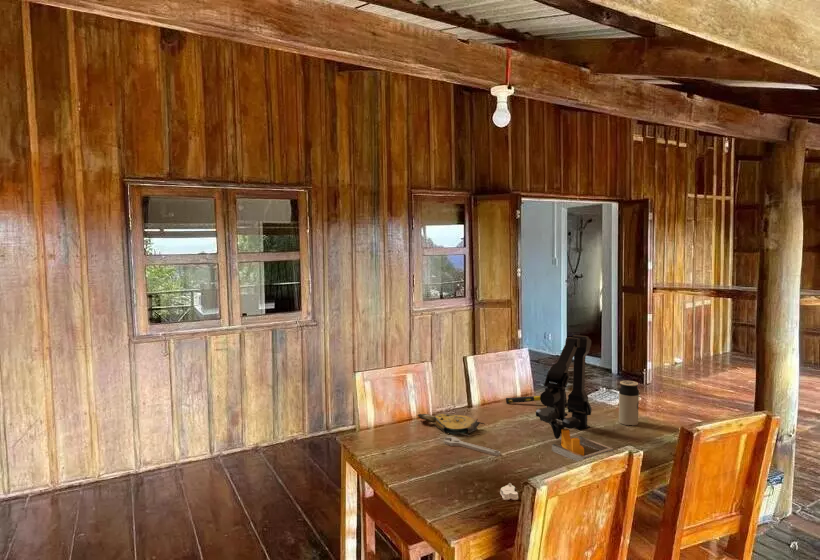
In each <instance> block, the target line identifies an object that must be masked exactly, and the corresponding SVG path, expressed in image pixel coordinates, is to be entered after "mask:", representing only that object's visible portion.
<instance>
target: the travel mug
mask: <svg viewBox="0 0 820 560" xmlns="http://www.w3.org/2000/svg"><path fill="white" fill-rule="evenodd" d="M619 384H620V387H619V390H618V423H620V424H621V425H626V426H629V425H632V426H637V425H638V424H639V406H640V405H639V398H640V397H639V396H640V395H639V394H640V390H639V388H638V385H639V382H637V381H633V380H620V381H619Z"/></svg>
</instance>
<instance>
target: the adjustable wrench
mask: <svg viewBox="0 0 820 560" xmlns="http://www.w3.org/2000/svg"><path fill="white" fill-rule="evenodd" d="M450 440H451V441H450ZM442 441H443V444H444V443H445V444H444V445H446V444H447V445H446V446H449V445H450V447H452V446H453V447H462V448H465V447H466V449H469V450H473V451H478V452H480V453H484V454H489V455H492V456H495V457H499V456H501V451H500V450H496V449H492V448H489V447H485V446H482V445H477V444H473V443H469V442H465V441H462V440H461V439H459V438H458V437H456V436H451V435H450V436H445V438H444V439H443V440H442Z"/></svg>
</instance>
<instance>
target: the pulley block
mask: <svg viewBox="0 0 820 560" xmlns="http://www.w3.org/2000/svg"><path fill="white" fill-rule="evenodd" d="M417 417H418V418H419V419H421V420H425V421H428V422H434V423H435V426H436V427H437V429H439V430H440V431H442V432H443V433H444V432H445V433H444V434H447V433H449V434H448V435H450V434H452V435H451V436H468V437H470V435H469V434H471V433H472V432H474V431H477V430H478V427H479V426H480V425H481V424H482V425H486V424H485V423H484V422H480V421H479V420H478V419H476V420H475V419H474V418H472V417H470V416H468V415H459V414H449V413H438V414H436V415H431V414H428V413H419V414H417Z"/></svg>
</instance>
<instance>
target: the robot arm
mask: <svg viewBox="0 0 820 560" xmlns="http://www.w3.org/2000/svg"><path fill="white" fill-rule="evenodd" d="M564 342H565V344H564V346H563V348H562V351H561V353H560V355H559V357H558V359H557V361H556V363H553V364H552V365H551V367H550V368H549V370H548V371H547V373H546V377H545V381H544V383H543V387H545V388H544V391H542V393H541V394H540V395H539V396H540V400H539V401H540V403H541V404H542V405H543V406H545V407H541V408H540V407H539V408H537V409H536V411H535V417H538V418H539V421H540V422H544V423H547V424H549V425H550V426H551V430H552V432H553V435H554V438H555V439H556V440H559V439H560V437H561V429H569V430H571V429H576V430H579V431H581V430H586V429H589V428H591V426H590V425H588V416H591V415H592V412H593V411H592V410H593V409H592V407H591V404H590V402H589V396H588V394H587V392H586V391H585V386H586V385H585V382H586V381H585V380H586V379H585V378H586V357H587V355H588V354H589V352H590V350H591V347H592V339H591V338H590V337H589V336H588V335H587V336H586V335H579V334H578V335H577V334H573V335H572V337H571V336H569V337H566V339H565V341H564ZM572 361H573V370H572V371H573V374H572V375H573V376H572V377H573V378H572V390H571V392H570V393H569V394H568V395H567V403H565V392H566V388H567V386H568V383H569V380H570V372H569V368H570V365H571V364H572ZM566 407H567V411H568V413H571V416H569V417H567V416H568V413H566Z"/></svg>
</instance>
